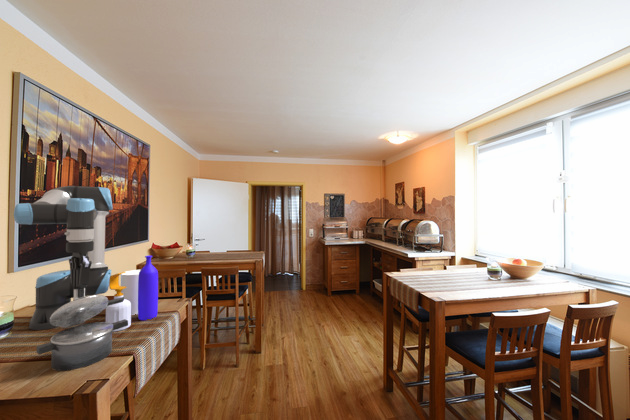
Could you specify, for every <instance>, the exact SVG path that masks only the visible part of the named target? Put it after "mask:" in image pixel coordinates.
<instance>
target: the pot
mask: <svg viewBox="0 0 630 420" xmlns="http://www.w3.org/2000/svg"><path fill="white" fill-rule="evenodd" d="M125 326H128V320H125V319H124V320H121V321H118V322H115V323H108V322H106V321H98V322H97V321H96V322H90V323H89V322H88V323H82V324H78V325H75V326H71V327H68V328H64V329H63V330H60V331H58V332H57V333H55V334H54V335H52V337H50V342H46V343H43V344H40V345H36V354H38V355H42V354H45V353H49V352H51V361H50V363H51V365H50V366H51V367H50V368H51V369H52V370H54V371H58V372H59V371H60V372H62V371H63V372H67V371H73V370H78V369H82V368H86V367H89V366H91V365H93V364H97V363H99V362H101V361H102V360H104V359H106V358H107V357H108V356H110V355H111V353H112V351H113V332H112V331H113V330H116V329H119V328H122V327H125ZM109 354H110V355H109Z"/></svg>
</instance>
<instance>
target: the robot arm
mask: <svg viewBox="0 0 630 420" xmlns="http://www.w3.org/2000/svg"><path fill="white" fill-rule="evenodd" d="M112 201H113V200H112V195H111V189H109V188H108V187H100V186H85V185H84V186H83V185H82V186H79V185H78V186H77V185H67V186H66V185H64V186H59V187H56V188H52V189H49V190H48V191H46V192H45V193H44V194H43V195H42V197H41V198H40V199H38V200H36V201H34V202H33V203H29V202H26V203H18V204H16V205H15V206H14V210H13V218H14V221H15V223H16V224H18V225H30V226H32V225H53V224H54V225H55V224H56V225H57V224H58V225H64V224H66V232H64V235H65V236H66V239H65V240H66V241H67V242H66V243H65V251H66V253H67V254H71V258H68V263H69V269H66V270H65V269H64V270H58V271H53V272H49V273H45V274H41V275H40V276H38V277H37V278H36V282H35V287H34V289H35V308H34V309H35V310H34V312H33V315H32V317H31V318H30V321H29V327H28V329H29V330H32V331H42V330H43V331H44V330H49V329H53V328H55V329H56V328H58V327H57V326H53V325H52V324H51V323H50V317H51V315H52V314H53V313H54V312H55V311H56V310H57V309H59V308H60V307H62V306H63V305H65V304H67V303H69V302H71V301H72V299H73V301H74V300H76V299H79V298H82V297H86V296H91V295H102V294H103V295H104V294H105V293H107V292H108V290H109V289H110V287H109V279H110V276H112V269H111V268H110V269H109V265H107V264H106V263H105V254H106V252H105V251H106V217H107V216H108V215H109V214H110V211H112V210H113V209H114V208H113V207H114V206H113V202H112Z"/></svg>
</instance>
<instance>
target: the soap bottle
mask: <svg viewBox="0 0 630 420" xmlns="http://www.w3.org/2000/svg"><path fill="white" fill-rule="evenodd" d="M123 273H126V271H123V272H119V273H115V274H113V275H112V274H111V276H110V279H109V289H110V290H113V291H114V292H116V293H115V294H114V295H113V299H117V298H121V297H123V293H121V291H122V290H123V289H124V288H126V287H124V286H121V285H120V284H119V283H120V281H119V278H120V276H121V274H123ZM124 319H125V320H128V326H125V327H122V328H119V329H116V330H113V331H112V333H113V332H120V331H123V330H126V329H127V328H129V327H131V324H132V315H131V303H130V301H128V300H126V299H124V301H123V302H121V303H117V304H113V305H109V306H107V307H106V308H105V322H108V323H115V322H118V321H121V320H124Z"/></svg>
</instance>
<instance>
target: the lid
mask: <svg viewBox="0 0 630 420" xmlns="http://www.w3.org/2000/svg"><path fill="white" fill-rule="evenodd" d="M123 301H124V297H121V298H117V299H114V298H113V299H110V300H109V299H108V297H107V296H105V295H104V294H103V295H102V294H98V295H90V296H85V297H82V298H79V299H76V300H74V299H73V300H71V302H69V303H67V304H65V305H63V306H62V307H60V308H59V309H57V310H56V311H55V312H54V313H53V314H52V315H51V317H50V323H51V324H52V325H53V326H57V327H56V328H62V329H63V330H65V329H68V328H71V327H74V326H78V325H83V324H86V321H88V320H90V319H92V318H94V317H95V316H97V315H99V314H100V313H102V312H103V311H104V310H106V307H107V306H109V305H113V304H117V303H121V302H123Z"/></svg>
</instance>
